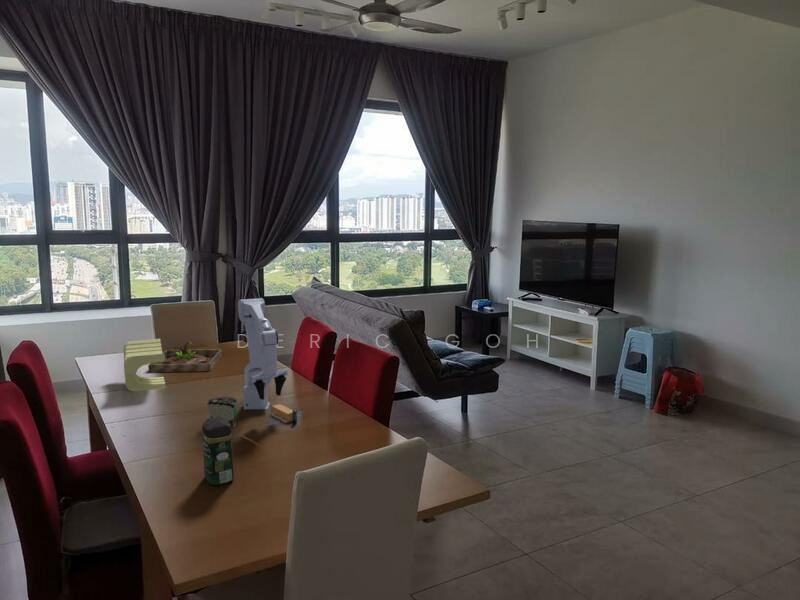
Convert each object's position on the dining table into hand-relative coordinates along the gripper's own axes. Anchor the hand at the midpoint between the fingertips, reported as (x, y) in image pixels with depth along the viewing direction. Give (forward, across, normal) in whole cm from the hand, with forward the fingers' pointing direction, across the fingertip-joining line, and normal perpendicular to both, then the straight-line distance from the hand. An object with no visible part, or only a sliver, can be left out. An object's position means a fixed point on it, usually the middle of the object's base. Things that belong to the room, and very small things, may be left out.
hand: (270, 397), depth 232 cm
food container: (+10, -14, +7) cm, 19 cm away
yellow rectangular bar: (+8, +5, -1) cm, 9 cm away
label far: (+9, +5, +1) cm, 10 cm away
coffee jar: (+10, -37, -33) cm, 50 cm away
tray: (+9, +5, -3) cm, 11 cm away
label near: (+9, +5, -4) cm, 11 cm away
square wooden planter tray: (+9, +9, +98) cm, 99 cm away
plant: (+10, +9, +99) cm, 100 cm away
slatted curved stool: (+10, -20, +74) cm, 77 cm away
